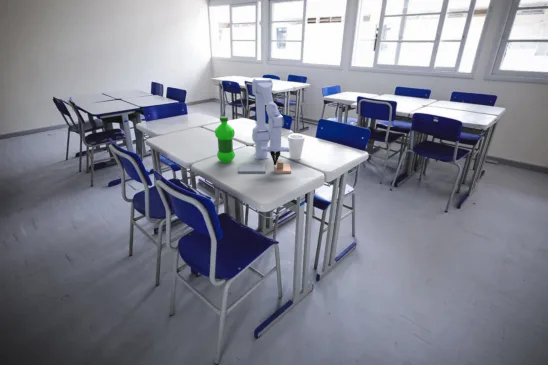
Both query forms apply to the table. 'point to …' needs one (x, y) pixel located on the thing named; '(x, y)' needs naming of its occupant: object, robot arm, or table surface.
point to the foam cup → (295, 146)
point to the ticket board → (251, 168)
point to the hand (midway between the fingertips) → (274, 164)
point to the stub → (282, 167)
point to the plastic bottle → (225, 141)
